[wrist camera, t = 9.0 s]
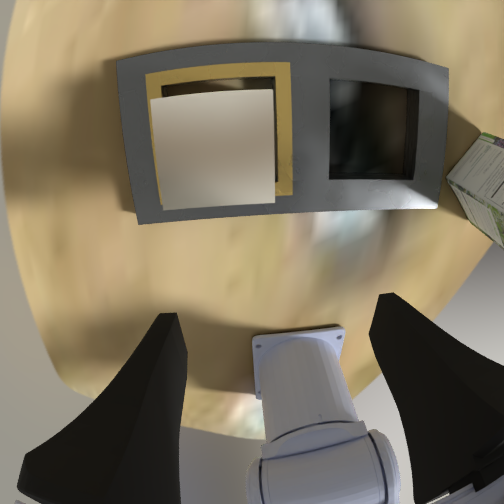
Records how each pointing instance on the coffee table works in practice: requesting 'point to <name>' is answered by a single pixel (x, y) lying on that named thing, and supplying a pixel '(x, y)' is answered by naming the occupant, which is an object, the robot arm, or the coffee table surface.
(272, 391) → the robot arm
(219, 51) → the rail
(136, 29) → the coffee table surface
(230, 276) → the coffee table surface
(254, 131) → the peg
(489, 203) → the syrup box
